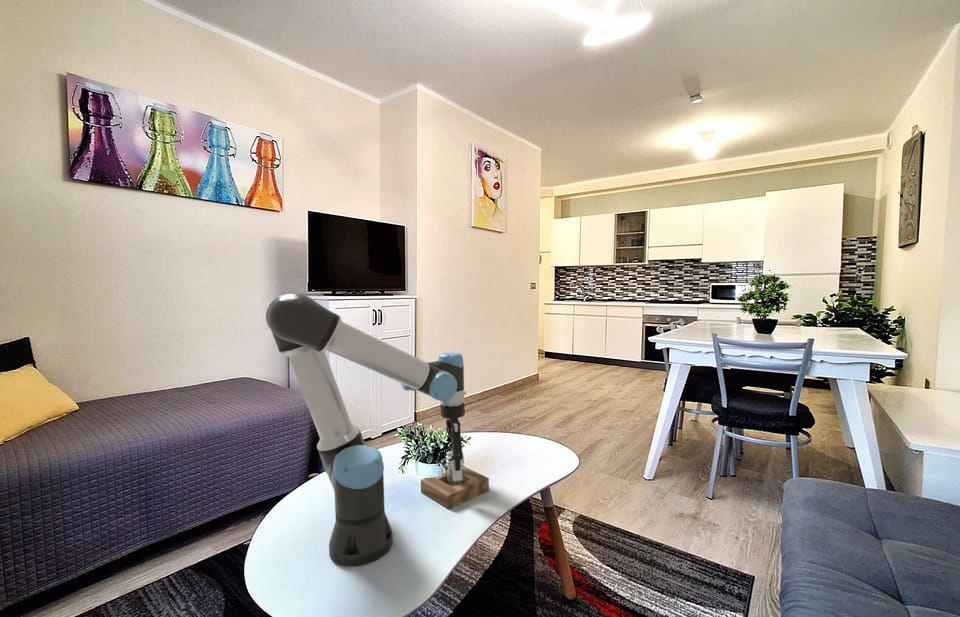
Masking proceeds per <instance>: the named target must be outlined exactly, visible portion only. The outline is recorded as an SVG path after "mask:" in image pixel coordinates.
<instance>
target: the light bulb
mask: <svg viewBox="0 0 960 617" xmlns="http://www.w3.org/2000/svg"><path fill="white" fill-rule="evenodd" d="M462 455H463V459H462V467H463V466H465V457H464V456H465V455H464V452H463V451H462ZM451 456H453V453H452V451H448V452H447V451H446V456H445V458H446V460H445V462H446V464H445V465H446V467H448V468H447V470H448V471H447V479H448V482H449V483H452V486H453V487H454V486H456V485H459V484H460V483H461V482H462V481H463V480H464V470H463V469H462V480H458V481H453V467H452V461H449V460H451Z"/></svg>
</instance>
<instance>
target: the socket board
mask: <svg viewBox="0 0 960 617" xmlns="http://www.w3.org/2000/svg"><path fill="white" fill-rule="evenodd" d="M463 470H464V480H463V481H462V482H461V483H460V484H459V485H456V486H454V487H453V486H452V483H449V482H448V479H447V471H446V472H445V473H443V474H442V475H441V476H438V477H433V478H432V477H431V478H427V477H424V478H422V479H420V493H421V494H422V495H424V496H426V497H427V498H429V499H431V500H432V501H434V503H435V502H436V503H437V504H439V505H440V506H442V507H443V508H445V509H447V510H450V509H452V508H454V507H455V508H456V506H459V505H460V504H463V503H465V502H467V501H469V500H471V499H474V498H476V497H479V496H480V495H483V494H485V493H487V492H490V478H489V477H487V476H486V475H483V474H480V473H478V472H477V471H474V470H473V469H470V468H468V467H466V466H465V465H463Z"/></svg>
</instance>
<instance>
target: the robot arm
mask: <svg viewBox="0 0 960 617" xmlns="http://www.w3.org/2000/svg"><path fill="white" fill-rule="evenodd" d="M265 320H266V323H267V326H268V328H269V329H270V331H271V334H272V336H273V339H274V341H275V344H276V346H277V349H278V352H279V353H280V354H282V355H284V356H287V357H288V358H289V362H290V364H291V367H292V370H293V371H294V374H295V377H296V380H297V383H298V384H299V387H300V390H301V392H302V396H303V398H304V401H305V403H306V406H307V408H308V411H309V413H310V416H311V419H312V421H313V423H314V427H315V428H316V431H317V433H318V436H319V441H318V442H317V444H316V448H317V451H318V455H319V456H320V459H321V462H322V466H323V469H324V471H325V472H326V474H327V476H328V479H329V482H330V483H331V485H332V488H333V492H334V509H335V510H334V512H335V522H334V525H333V528H332V532H331V536H330V540H329V544H328V552H329V553H328V554H329V557H330V559H331V560H332V561H333V562H334V563H336V564H337V565H340V566H345V567H359V566H364V565H369V564H371V563H373V562H376V561H377V560H379V559H381V558H383V557H384V556H385V555H387V553H389V552H390V550H391V548H392V547H393V544H394V538H393V537H394V535H393V529H392V527H391V524H390V522H389V519H388V517H387V515H386V514H387V513H386V511H385V486H384V485H385V484H384V483H385V482H384V470H385V466H384V465H385V464H384V461H383V455H382V453H381V452H380V450H378V449H377V448H376V447H373V446H369V445H366V442H365V440H364V438H363V435H362V432H361V429H360V427H359V426H357V425H354V424H353V423H352V422H351V419H350V417H349V413H348V411H347V409H346V405H345V403H344V400H343V397H342V395H341V392H340V389H339V386H338V384H337V381H336V378H335V376H334V373H333V370H332V368H331V365H330V362H329V360H328V356H327V354H326V352H330V353H331V354H334V355H336V356H339V357H341V358H344V359H345V360H348V361H350V362H353V363H354V364H357V365H359V366H362V367H363V368H366V369H369V370H370V371H373V372H374V373H377V374H379V375H382V376H384V377H386V378H389V379H391V380H393V381H396V382H398V383H400V385H401V387H402V389H403V390H404V391H414V392H415V391H418V392H419V393H422V394H425V395H427V396H429V397H431V398H432V399H433V400H437V401H439V402H440V406H439V407H440V417H442V418H444V419H445V420H446V421H445V425H446V426H445V433H446V432H447V433H448V435H449V437H450V438H451V443H452V453H453V457H451V460H452V467H451V468H453V481H458V480H462V459H463V455H464V454H463V455H462V452H463V448H462V447H463V445H462V444H463V443H462V436H461V435H462V434H461V422H460V420H459V418H462V417H464V416H465V414H466V409H465V407H466V406H465V403H464V402H465V395H466V394H467V391H465V376H464V374H465V366H464V357H463V355H462V354H461V353H459V352H444V353H440V354H439V355H438V360H436V361H430V362H428V361H427V362H426V361H424V360H422V359H420V358H418V357H416V356H414V355H411V354H410V353H408V352H405V351H403V350H401V349H399V348H398V347H395V346H393V345H391V344H389V343H387V342H385V341H383V340H380V339H379V338H376V337H374V336H373V335H370V334H368V333H367V332H364V331H362V330H360V329H358V328H356V327H354V326H351V325H349V324H348V323H346V322H344V321H343V320H342V317H341V316H340V315H339V314H337V313H334V312H333V311H332V310H329V309H328V308H326V307H324V306H323V305H321V304H320V303H318V302H317V301H316V300H314V299H313V298H311V297H309V296H307V295H305V294H303V293H295V292H293V293H292V292H290V293H284V294H282V295H279V296H277V297H275V298H274V299H273V300H272V301H271V302H270V304H269V305H268V307H267V309H266V314H265Z"/></svg>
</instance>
